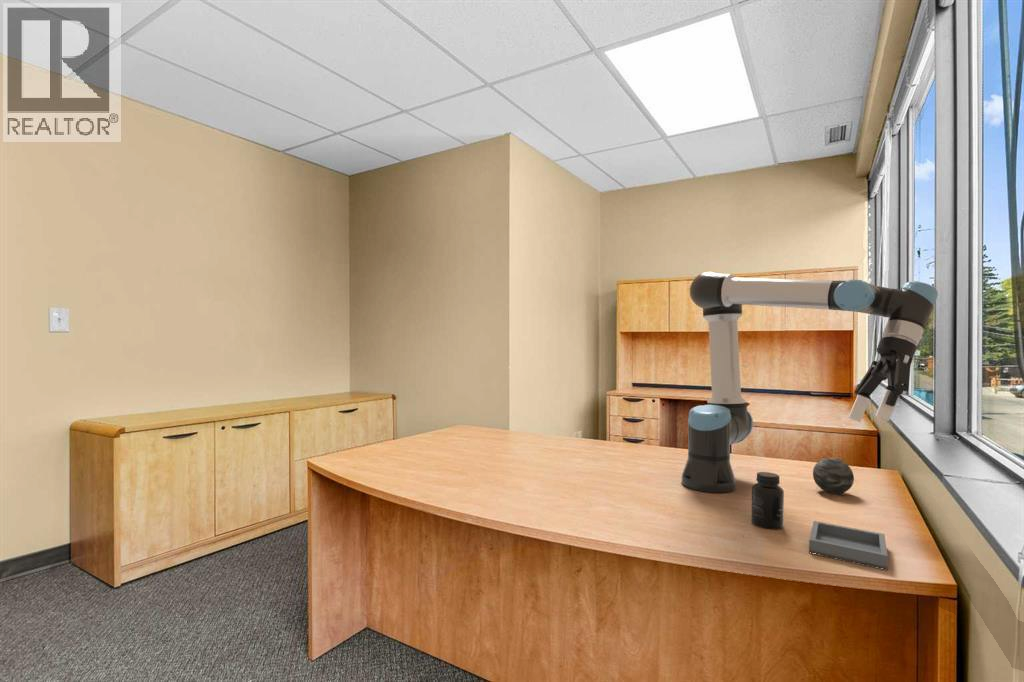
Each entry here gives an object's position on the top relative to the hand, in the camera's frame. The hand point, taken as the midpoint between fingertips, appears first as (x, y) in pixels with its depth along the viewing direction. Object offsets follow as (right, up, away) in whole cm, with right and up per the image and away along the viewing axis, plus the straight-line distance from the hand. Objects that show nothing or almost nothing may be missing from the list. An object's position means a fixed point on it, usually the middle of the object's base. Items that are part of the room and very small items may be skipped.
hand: (867, 419), depth 124 cm
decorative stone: (+5, -25, +21) cm, 32 cm away
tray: (-17, -25, -18) cm, 35 cm away
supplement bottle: (-27, -25, -4) cm, 37 cm away
